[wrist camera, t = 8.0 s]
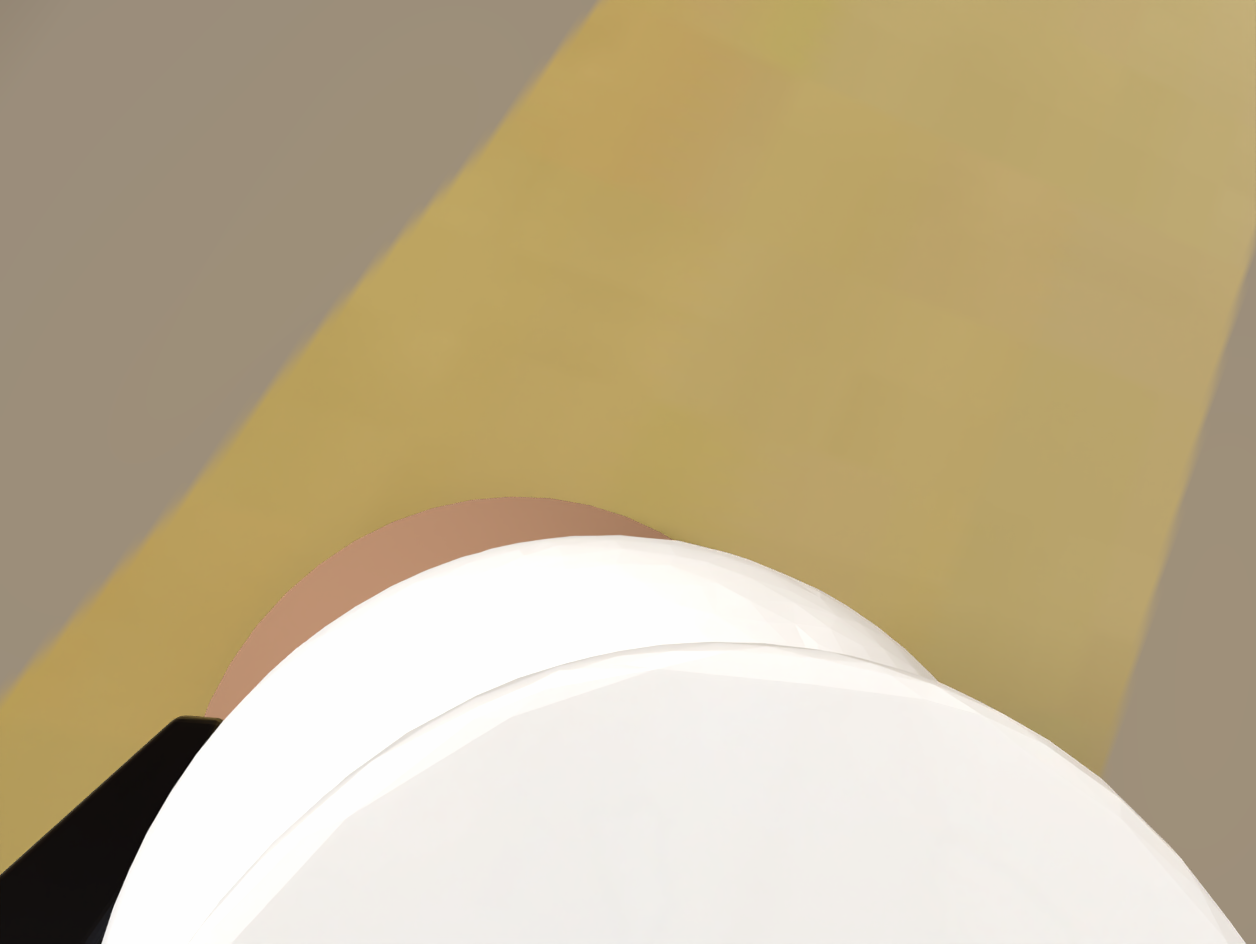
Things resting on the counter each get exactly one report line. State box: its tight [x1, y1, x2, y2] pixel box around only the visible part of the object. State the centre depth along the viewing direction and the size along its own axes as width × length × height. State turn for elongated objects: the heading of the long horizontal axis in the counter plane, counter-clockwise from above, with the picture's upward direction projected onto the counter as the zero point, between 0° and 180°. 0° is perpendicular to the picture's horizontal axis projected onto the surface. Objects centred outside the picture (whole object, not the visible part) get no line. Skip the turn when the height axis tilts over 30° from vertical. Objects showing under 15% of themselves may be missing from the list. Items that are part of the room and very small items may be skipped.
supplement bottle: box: [102, 535, 1246, 944], centre depth 9 cm, size 7×7×13 cm
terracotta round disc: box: [204, 497, 672, 720], centre depth 18 cm, size 11×11×1 cm
